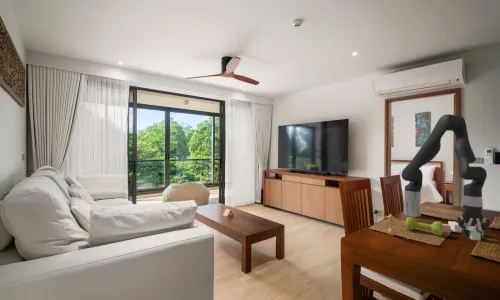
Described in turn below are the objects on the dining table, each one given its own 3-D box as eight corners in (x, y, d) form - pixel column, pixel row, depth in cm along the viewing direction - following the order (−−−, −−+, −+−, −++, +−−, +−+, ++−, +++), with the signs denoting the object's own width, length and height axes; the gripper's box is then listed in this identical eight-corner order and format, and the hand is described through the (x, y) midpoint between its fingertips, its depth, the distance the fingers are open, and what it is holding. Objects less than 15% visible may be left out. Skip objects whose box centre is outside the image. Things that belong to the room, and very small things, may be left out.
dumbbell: (442, 233, 126) (442, 220, 126) (442, 238, 120) (442, 224, 120) (407, 227, 137) (407, 215, 137) (405, 230, 131) (405, 218, 131)
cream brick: (454, 232, 128) (454, 224, 128) (448, 227, 135) (448, 221, 135) (462, 232, 127) (462, 225, 127) (455, 228, 134) (455, 221, 134)
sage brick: (471, 240, 117) (471, 232, 117) (464, 235, 124) (464, 227, 124) (480, 240, 116) (480, 233, 116) (472, 235, 123) (472, 228, 123)
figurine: (402, 236, 122) (402, 214, 122) (398, 239, 118) (398, 216, 118) (385, 232, 128) (385, 211, 128) (381, 234, 125) (381, 213, 124)
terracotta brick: (435, 231, 129) (435, 224, 129) (432, 229, 132) (432, 222, 132) (450, 233, 127) (450, 226, 127) (447, 231, 130) (447, 224, 130)
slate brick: (466, 234, 124) (466, 227, 124) (463, 232, 127) (463, 225, 127) (483, 236, 122) (483, 229, 122) (479, 234, 125) (479, 227, 125)
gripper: (485, 203, 121) (485, 236, 121) (452, 201, 126) (452, 232, 126) (494, 207, 114) (494, 241, 114) (459, 205, 119) (459, 237, 119)
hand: (472, 236), depth 120 cm, fingers open, 4 cm apart
